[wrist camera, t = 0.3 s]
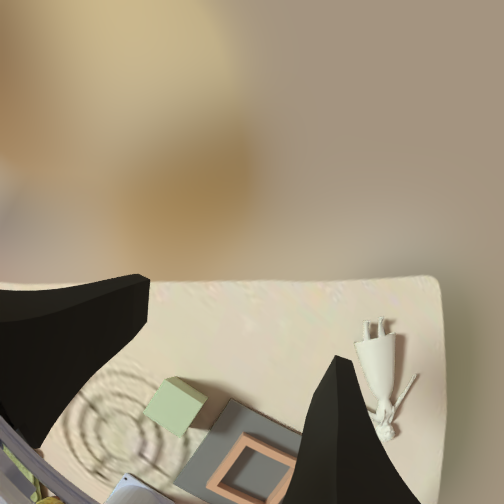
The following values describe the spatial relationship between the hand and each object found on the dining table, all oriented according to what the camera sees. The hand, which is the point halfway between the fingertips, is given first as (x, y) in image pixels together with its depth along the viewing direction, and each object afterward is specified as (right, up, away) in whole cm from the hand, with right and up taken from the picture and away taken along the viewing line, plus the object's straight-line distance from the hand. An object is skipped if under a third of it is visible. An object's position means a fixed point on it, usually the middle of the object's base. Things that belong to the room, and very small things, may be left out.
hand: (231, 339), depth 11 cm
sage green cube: (-8, -16, +25) cm, 31 cm away
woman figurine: (+18, -15, +27) cm, 36 cm away
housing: (+3, -26, +22) cm, 34 cm away
